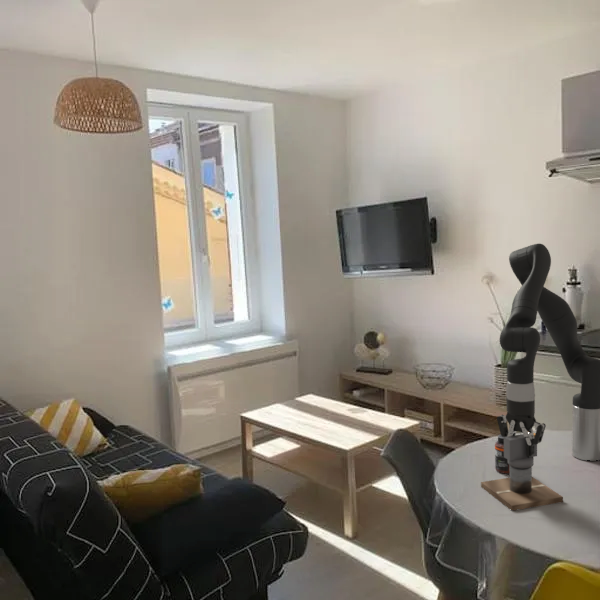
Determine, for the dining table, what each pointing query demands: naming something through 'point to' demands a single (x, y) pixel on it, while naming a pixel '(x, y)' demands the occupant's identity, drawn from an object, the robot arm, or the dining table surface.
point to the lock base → (521, 498)
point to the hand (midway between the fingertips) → (520, 454)
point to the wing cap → (518, 451)
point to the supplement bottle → (501, 456)
